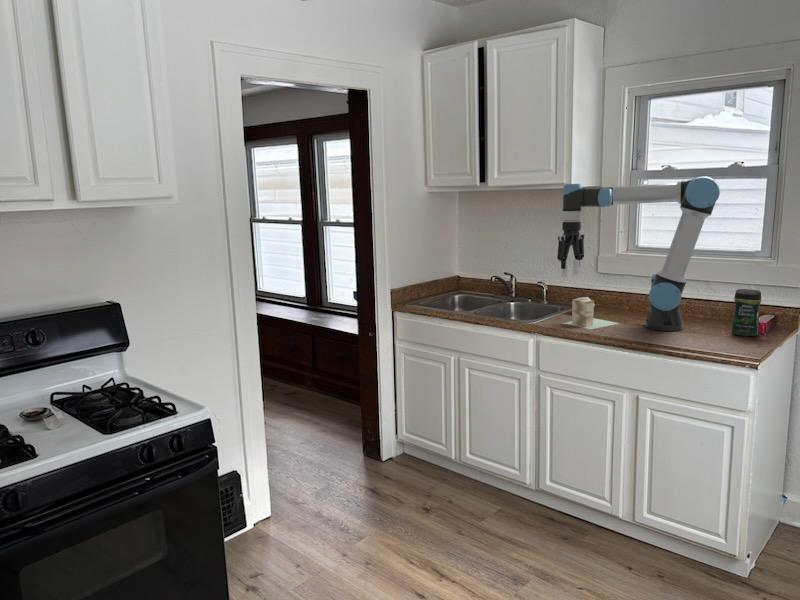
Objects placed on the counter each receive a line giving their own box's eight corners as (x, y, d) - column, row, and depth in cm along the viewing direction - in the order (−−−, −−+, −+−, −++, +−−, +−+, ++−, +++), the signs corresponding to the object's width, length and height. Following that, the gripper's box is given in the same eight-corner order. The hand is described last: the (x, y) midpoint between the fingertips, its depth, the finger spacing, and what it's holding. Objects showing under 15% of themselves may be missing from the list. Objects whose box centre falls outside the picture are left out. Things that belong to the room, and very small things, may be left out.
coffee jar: (729, 335, 264) (732, 289, 261) (733, 331, 271) (736, 287, 267) (756, 338, 259) (760, 291, 255) (760, 334, 265) (763, 288, 262)
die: (592, 318, 305) (600, 299, 308) (575, 309, 305) (583, 290, 307) (584, 321, 314) (592, 303, 316) (568, 312, 313) (575, 294, 316)
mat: (619, 324, 289) (619, 323, 289) (590, 330, 279) (590, 329, 279) (590, 318, 302) (590, 317, 302) (562, 323, 292) (562, 323, 292)
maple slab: (593, 325, 285) (593, 300, 283) (586, 327, 283) (586, 302, 281) (578, 322, 292) (579, 298, 290) (571, 324, 289) (572, 299, 288)
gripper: (580, 219, 283) (579, 272, 287) (548, 222, 273) (547, 276, 277) (594, 220, 277) (592, 274, 281) (562, 222, 266) (561, 278, 270)
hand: (570, 275), depth 279 cm, fingers open, 6 cm apart
